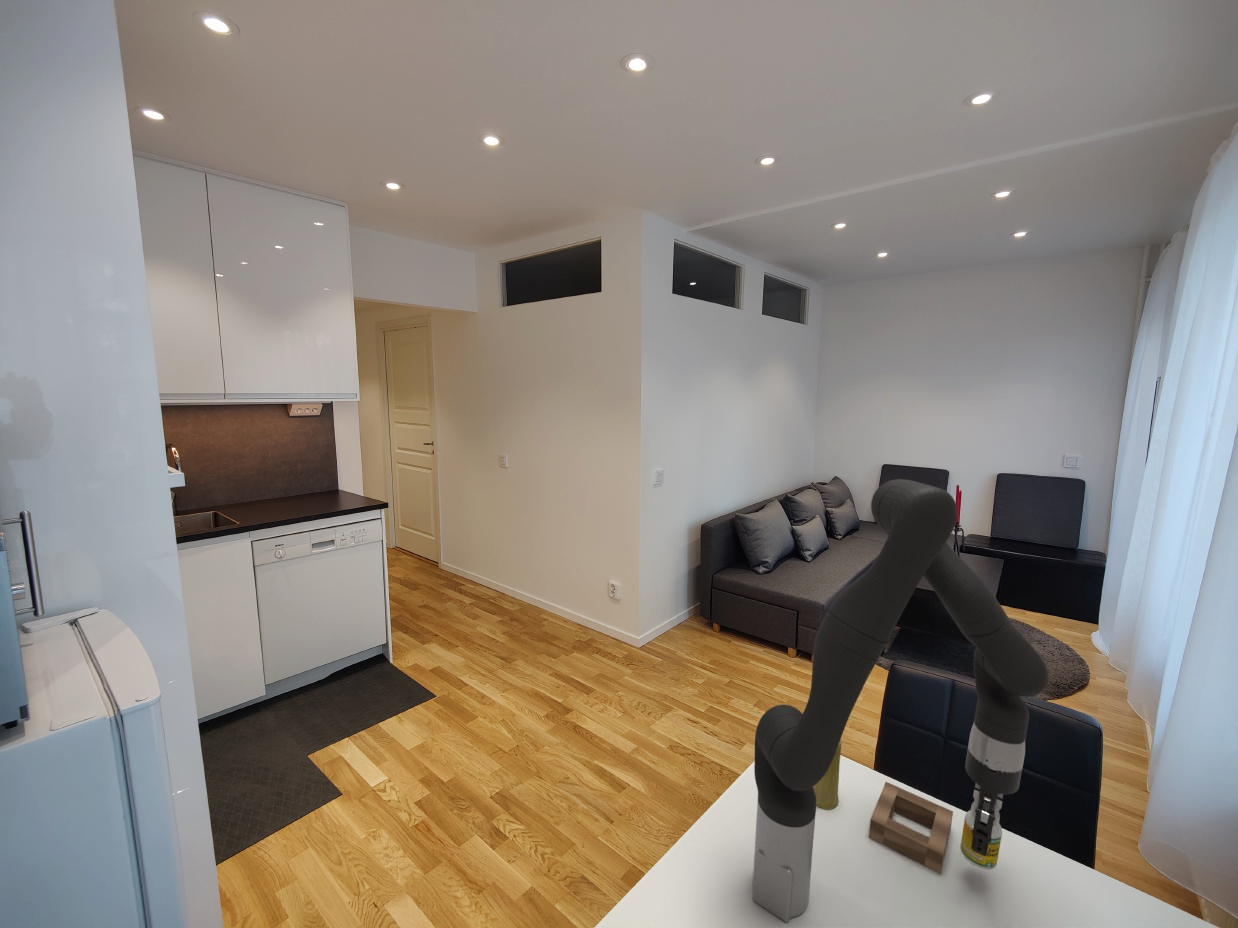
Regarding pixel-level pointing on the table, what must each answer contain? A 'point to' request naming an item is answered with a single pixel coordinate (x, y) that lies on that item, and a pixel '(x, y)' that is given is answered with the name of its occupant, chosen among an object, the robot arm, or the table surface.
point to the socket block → (906, 838)
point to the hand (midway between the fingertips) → (980, 839)
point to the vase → (829, 784)
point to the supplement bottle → (993, 847)
